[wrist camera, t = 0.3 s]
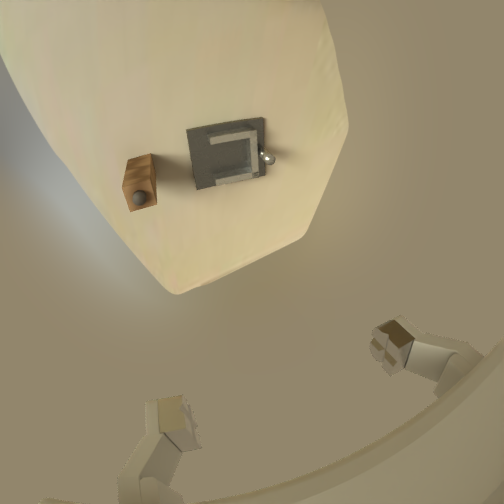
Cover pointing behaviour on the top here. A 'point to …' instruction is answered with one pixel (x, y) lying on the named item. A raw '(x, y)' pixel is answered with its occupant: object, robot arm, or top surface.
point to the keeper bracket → (228, 152)
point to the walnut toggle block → (140, 183)
